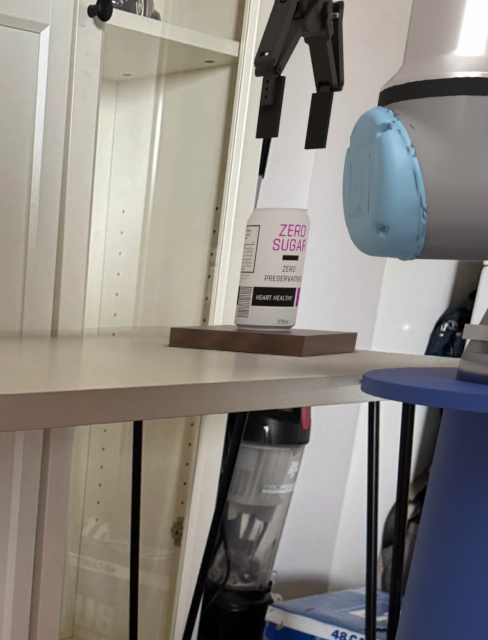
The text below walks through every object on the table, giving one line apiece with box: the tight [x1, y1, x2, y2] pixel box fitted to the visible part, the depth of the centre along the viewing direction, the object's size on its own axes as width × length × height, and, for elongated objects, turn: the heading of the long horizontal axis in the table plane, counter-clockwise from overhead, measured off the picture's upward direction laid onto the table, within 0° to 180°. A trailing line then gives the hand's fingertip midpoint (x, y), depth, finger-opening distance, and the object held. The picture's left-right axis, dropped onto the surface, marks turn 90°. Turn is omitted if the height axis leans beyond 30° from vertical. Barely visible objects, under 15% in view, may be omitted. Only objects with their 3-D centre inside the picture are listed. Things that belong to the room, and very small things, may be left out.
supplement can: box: [233, 207, 311, 331], centre depth 139 cm, size 8×8×15 cm
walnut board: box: [168, 324, 359, 357], centre depth 143 cm, size 20×16×2 cm
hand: (291, 143), depth 133 cm, fingers open, 13 cm apart
